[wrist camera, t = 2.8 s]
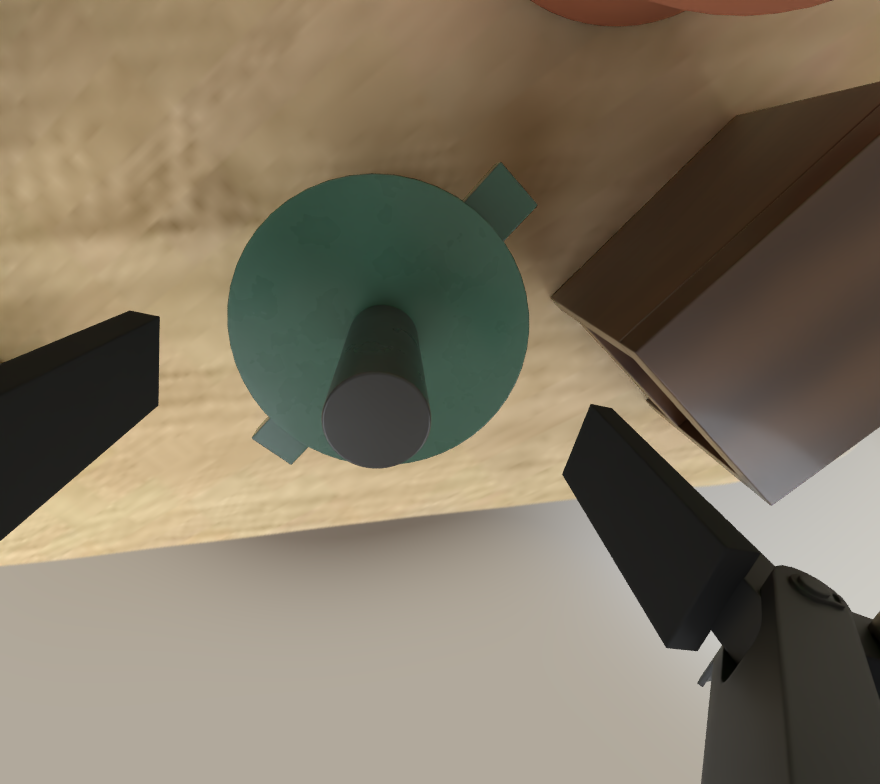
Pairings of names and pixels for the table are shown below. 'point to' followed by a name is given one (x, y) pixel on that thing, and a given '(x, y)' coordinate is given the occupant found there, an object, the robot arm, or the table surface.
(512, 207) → the pot
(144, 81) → the table surface
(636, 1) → the potted cactus
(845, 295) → the wooden side table
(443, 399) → the lid
